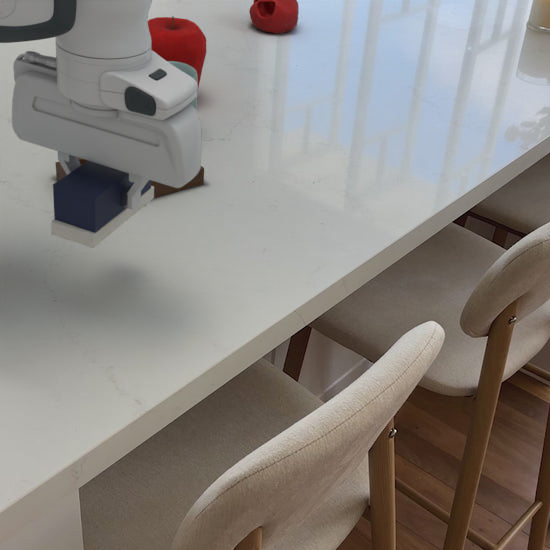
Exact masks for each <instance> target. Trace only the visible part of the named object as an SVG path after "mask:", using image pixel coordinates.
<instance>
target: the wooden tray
mask: <svg viewBox="0 0 550 550" xmlns="http://www.w3.org/2000/svg"><path fill="white" fill-rule="evenodd" d="M78 160H79V162H80V164H81V165H82V164H84V163H85V162H87V161H88V160H85V159H81V158H78ZM55 175H56V176H55V177H56V180H57V182H58V181H59V180H61V179H62V178H63V177H65V176H66V175H67V174H66V172H65V171H64V169H63V167H62V165H61V164H60V162H59V161H55ZM204 183H205V167H204V166H203V165H201V168H200V171H199V172H198V174H197V175H196V176H195V177H194V178H193V179H192V180H191V181H189V182H188V183H187V184H185V185H184V186H182V187H181V188H175V187H171V186H168V185H165V184H162V183H159V182H155V181H152V180H151V186H154V198H159V197H162V196H165V195H166V196H167V195H169V194H170V195H171V194H174V193H177V192H180V191H185V190H187V189H191V188H194V187H195V188H196V187H199V186H203V185H204Z"/></svg>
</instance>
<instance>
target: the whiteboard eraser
mask: <svg viewBox="0 0 550 550" xmlns="http://www.w3.org/2000/svg"><path fill="white" fill-rule="evenodd" d="M133 184H134V182H130V181H129V173H126V172H123V171H120V170H117V169H114V168H110V167H107V166H104V165H101V164H97V163H94V162H91V161H87V162H85V163H84V164H82V165H81V166H80V167H78V168H77V169H75V170H74V171H72V172H71V173H69V174H68V175H66V176H65V177H63V178H62V179H61V180H59V181H58V180H57V181H56V182H54V183H53V184H52V192H53V193H52V195H53V216H54V217H53V219H52V220H51V221H50V232H51V235H54V236H57V237H58V238H59V237H60V238H62V239H65V240H68V241H71V242H73V243H76V244H80V245H82V246H86V247H89V248H91V249H94V248H96V247H97V246H98V245H99V244H100V243H102V242H103V241H104V240H105V239H107V238H108V237H109V236H110V235H111V234H113V233H114V232H115V231H116V230H118V229H119V228H120V227H121V226H122V225H124V224H125V223H126V222H127V221H128V220H129V219H130V218H132V217H133V216H135V214H137V213H138V212H139V211H140V210H142V209H143V208H144V207H145V206H146V205H147V204H149V203H150V202H151V201H153V200H154V186H151V180H149V181H148V182H147V183H146V185H145V186H144V188H143V189H142V190H141V202H140V205H139V206H138V207H137V208H135V209H134V210H131V209H128V208H125V207H122V206H121V205H120V201H121V200H120V192H122V191H123V190H125V189H126V188H127V187H128V186H132V185H133Z"/></svg>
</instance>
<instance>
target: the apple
mask: <svg viewBox="0 0 550 550" xmlns="http://www.w3.org/2000/svg"><path fill="white" fill-rule="evenodd" d="M148 27H149V32H150V35H151V41H152V43H151V50H152V51H154V52H155V53H157V54H158V55H159V56H160V57H162V58H163V59H165V60H166V61H175V62H181V63H185V64H187V65H190V66H191V67H193V68H194V69H195V70H196V71H197V76H198V89H199V87H200V83H201V77H202V74H203V73H202V72H203V67H204V65H205V64H204V63H205V60H206V56H207V38H206V35H205V33H204V32H203V31H202V29H201V28H200V26H199V25H198V24H197V23H195V22H194V21H193V20H190V19H188V18H180V17H175V16H173V15H172V16H171V17H169V16H163V17H162V16H161V17H160V16H159V17H157V16H156V17H154V18H150V19H148Z"/></svg>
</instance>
